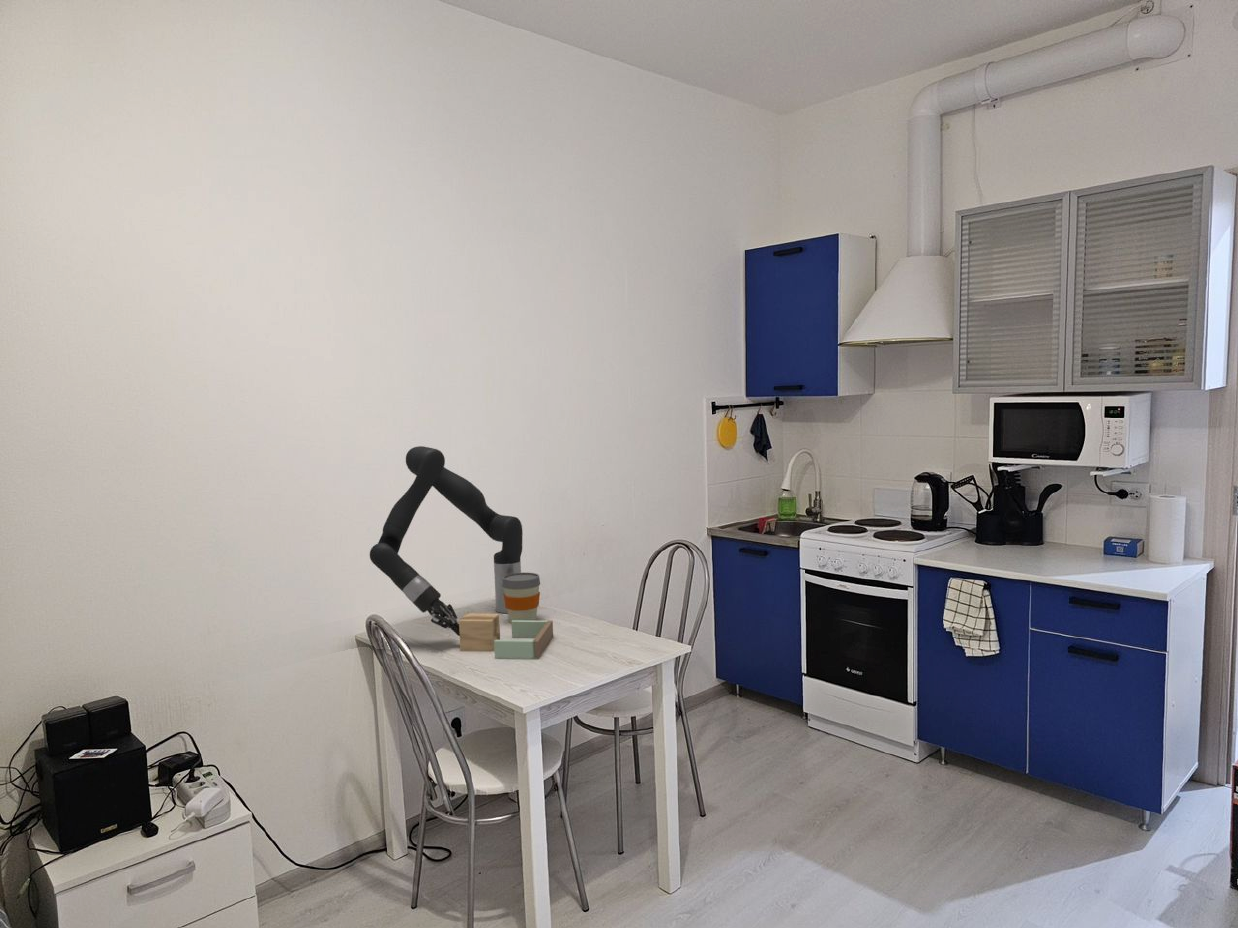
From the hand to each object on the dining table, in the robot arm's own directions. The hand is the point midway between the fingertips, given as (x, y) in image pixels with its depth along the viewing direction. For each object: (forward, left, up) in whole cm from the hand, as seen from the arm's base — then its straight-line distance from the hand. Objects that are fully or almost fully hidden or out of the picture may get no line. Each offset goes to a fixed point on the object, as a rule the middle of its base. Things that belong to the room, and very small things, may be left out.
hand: (462, 633), depth 246 cm
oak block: (0, +6, -4) cm, 7 cm away
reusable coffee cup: (-27, +12, -4) cm, 30 cm away
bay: (0, +19, -4) cm, 19 cm away
